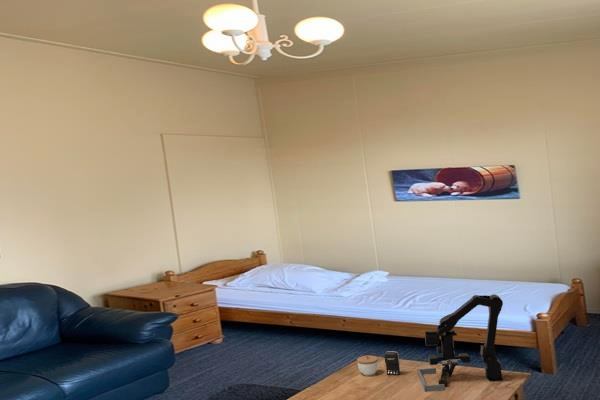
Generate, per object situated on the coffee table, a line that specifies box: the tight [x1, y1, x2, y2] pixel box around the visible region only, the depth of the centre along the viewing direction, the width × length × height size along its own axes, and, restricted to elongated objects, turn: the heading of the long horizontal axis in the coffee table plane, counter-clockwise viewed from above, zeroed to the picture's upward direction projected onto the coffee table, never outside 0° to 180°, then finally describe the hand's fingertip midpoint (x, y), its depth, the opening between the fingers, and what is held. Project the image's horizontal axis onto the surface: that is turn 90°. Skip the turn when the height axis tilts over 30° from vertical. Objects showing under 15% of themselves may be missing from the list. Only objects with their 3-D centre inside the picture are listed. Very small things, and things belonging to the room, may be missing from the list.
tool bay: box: [417, 367, 446, 392], centre depth 281 cm, size 9×24×2 cm, turn 177°
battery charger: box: [384, 350, 401, 376], centre depth 296 cm, size 7×4×11 cm, turn 70°
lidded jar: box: [356, 354, 379, 377], centre depth 300 cm, size 11×11×9 cm
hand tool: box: [438, 366, 449, 388], centre depth 281 cm, size 19×4×5 cm, turn 160°
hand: (450, 376), depth 280 cm, fingers closed
